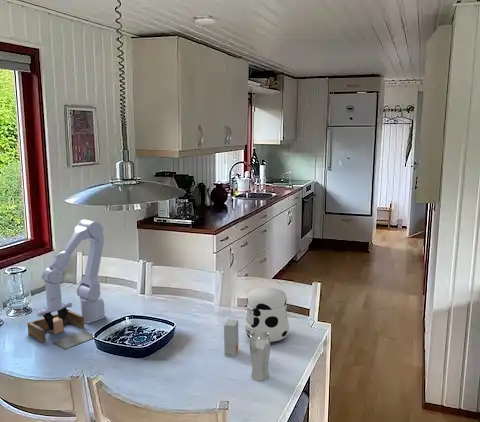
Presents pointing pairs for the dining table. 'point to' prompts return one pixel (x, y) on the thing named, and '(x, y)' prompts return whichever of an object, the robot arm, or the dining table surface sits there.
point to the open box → (38, 332)
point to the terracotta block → (57, 325)
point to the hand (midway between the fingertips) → (56, 327)
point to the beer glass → (260, 355)
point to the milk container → (267, 313)
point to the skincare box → (231, 338)
